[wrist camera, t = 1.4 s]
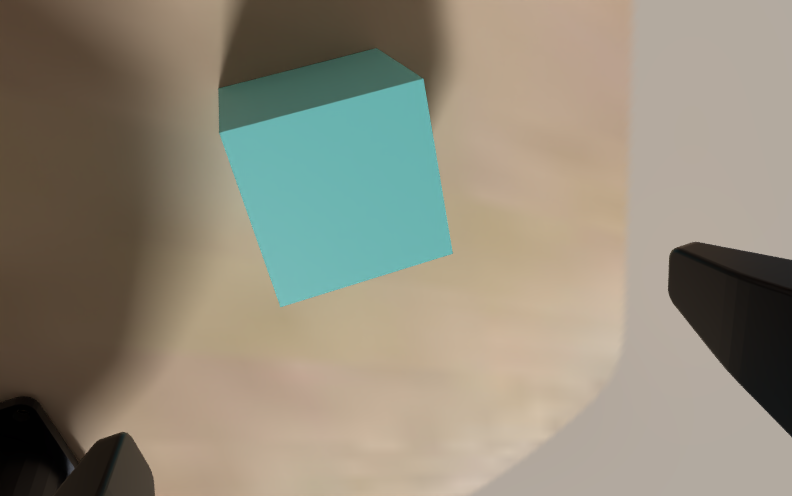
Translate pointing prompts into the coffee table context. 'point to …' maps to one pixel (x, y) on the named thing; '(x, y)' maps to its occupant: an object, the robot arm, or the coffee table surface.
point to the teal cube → (336, 172)
